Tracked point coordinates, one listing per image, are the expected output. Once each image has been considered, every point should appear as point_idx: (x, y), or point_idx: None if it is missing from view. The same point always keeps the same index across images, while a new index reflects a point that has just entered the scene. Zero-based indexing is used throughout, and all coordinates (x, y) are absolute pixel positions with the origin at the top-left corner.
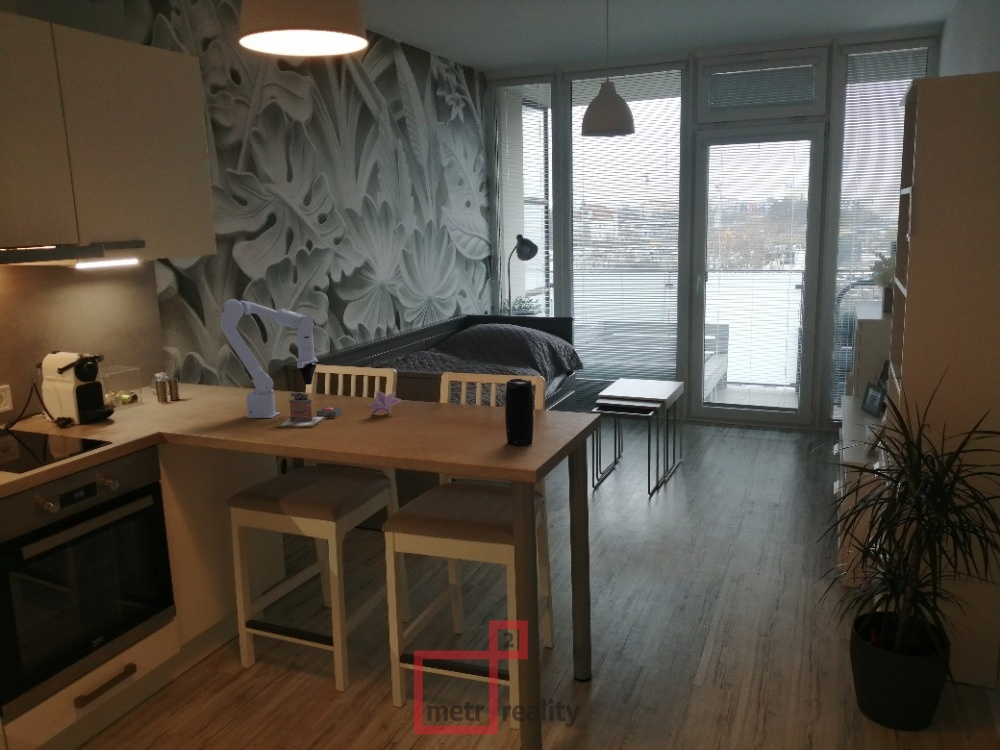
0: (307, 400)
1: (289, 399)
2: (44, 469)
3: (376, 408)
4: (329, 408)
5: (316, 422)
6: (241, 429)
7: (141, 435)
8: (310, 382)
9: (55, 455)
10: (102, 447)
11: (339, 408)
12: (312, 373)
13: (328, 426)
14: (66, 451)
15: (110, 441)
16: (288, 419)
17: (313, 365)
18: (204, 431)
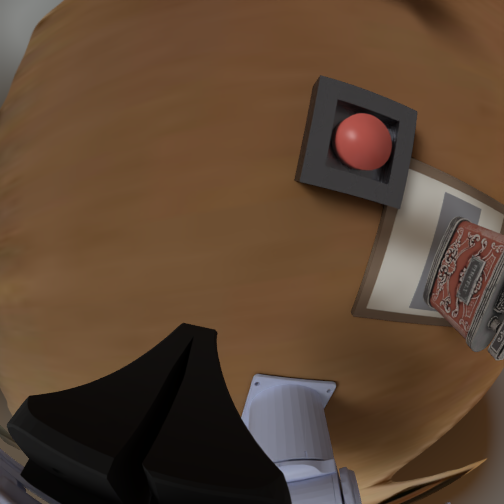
0: None
1: (478, 350)
2: (474, 464)
3: None
4: (367, 139)
5: (479, 198)
6: (436, 399)
7: (382, 489)
8: (216, 339)
9: (429, 488)
10: (424, 482)
11: (354, 86)
12: (161, 386)
13: (499, 155)
14: (419, 492)
15: (397, 492)
16: (407, 317)
17: (114, 483)
18: (409, 446)
